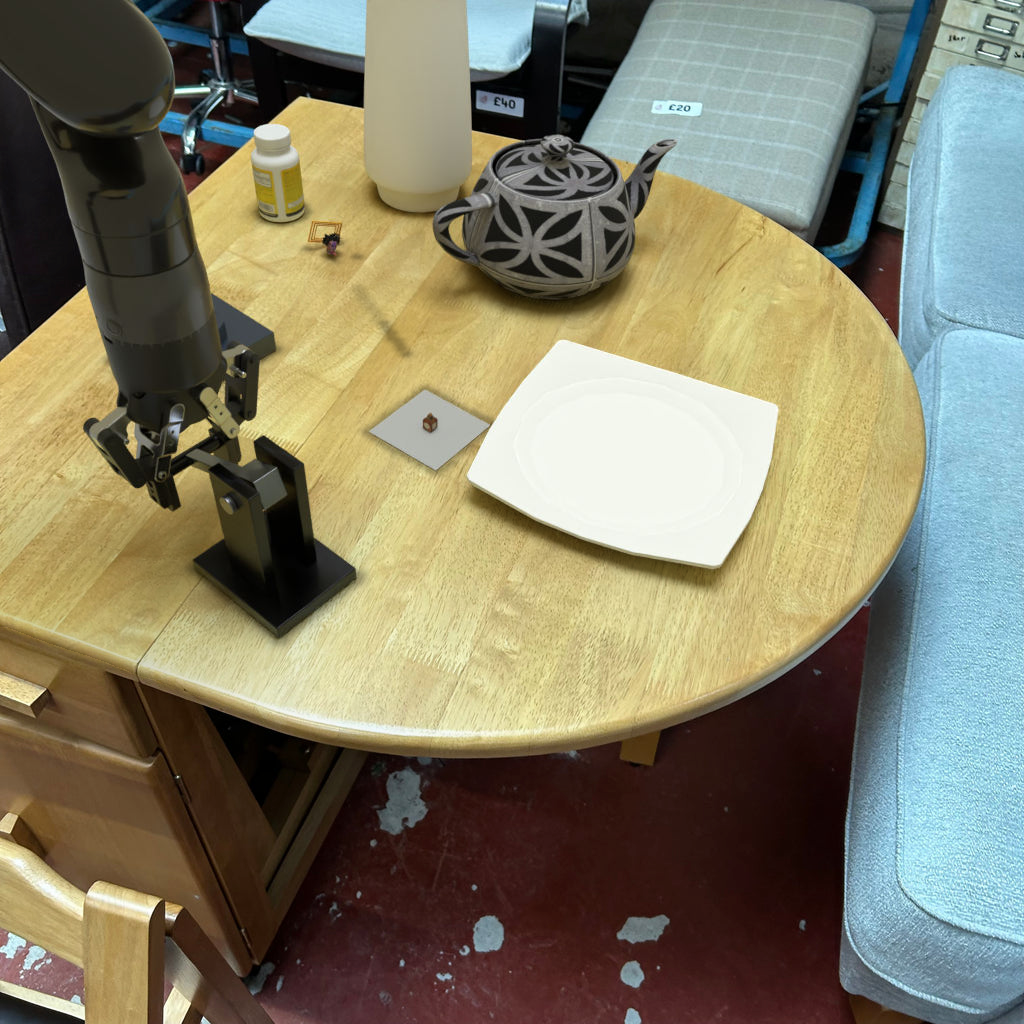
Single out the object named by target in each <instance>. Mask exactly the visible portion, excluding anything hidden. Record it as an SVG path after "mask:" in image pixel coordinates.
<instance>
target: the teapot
mask: <svg viewBox="0 0 1024 1024" xmlns="http://www.w3.org/2000/svg"><path fill="white" fill-rule="evenodd" d="M678 142H679V141H678V140H677V139H674V138H667V139H662V140H659V141H656V142H655V143H653V144H652V145H650V146H649V148H647V149H646V150H645V152H644V153H643V154H642V156H641V158H640V159H639V161H637V164H636V165H635V167H634V169H633V170H632V171H631V173H630V174H629V176H628V178H626V179H624V177H623V174H622V171H621V169H620V167H619V165H618V164H617V163H616V162H615V161H614V160H613V159H612V158H611V157H610V156H608V155H607V154H606V153H604V152H602V151H600V150H598V149H597V148H594V147H592V146H590V145H586V144H583V143H580V142H575V141H574V140H573V139H571V137H569V136H566V135H563V134H549V135H545V136H544V137H542V138H535V139H526V140H521V141H516V142H513V143H511V144H508V145H506V146H505V145H504V146H503V147H502V148H500V149H498V150H497V151H496V152H495V153H494V154H493V155H492V156H491V157H490V158H489V160H488V161H487V163H486V165H485V167H484V168H483V170H482V172H481V173H480V175H479V178H478V179H477V181H476V183H475V185H474V186H473V189H472V190H471V193H470V195H469V196H467V197H463V198H460V199H456V200H455V201H454V202H451V203H449V204H447V205H445V206H443V207H441V208H440V209H439V210H438V211H435V213H434V215H433V218H432V232H433V235H434V238H435V240H436V242H437V244H438V245H439V246H440V247H441V249H442V250H443V251H444V252H445V253H447V254H448V255H449V256H450V257H452V258H454V259H456V260H458V261H459V262H461V263H465V264H468V265H471V266H475V267H477V268H478V269H479V270H480V271H481V272H483V273H484V274H485V275H486V276H487V277H489V278H490V279H491V280H492V281H494V282H495V283H496V284H498V286H500V287H503V288H504V289H506V290H507V291H510V292H512V293H514V294H517V295H520V296H524V297H528V298H532V299H539V300H565V299H566V300H567V299H571V298H576V297H580V296H583V295H586V294H588V293H591V292H593V291H594V290H596V289H598V288H600V287H602V286H604V285H606V284H608V283H609V282H611V281H612V280H614V279H615V278H616V277H618V276H619V275H620V274H621V273H622V272H623V271H624V269H626V267H627V265H628V264H629V262H630V260H631V258H632V256H633V253H634V250H635V244H636V225H635V224H636V223H635V220H636V219H637V218H638V217H639V215H640V214H641V213H642V211H643V210H644V208H645V206H646V205H647V202H648V199H649V196H650V193H651V188H652V185H653V182H654V177H655V175H656V171H657V169H658V167H659V164H660V162H661V161H662V159H663V158H664V157H665V156H666V154H667V153H668V152H669V151H671V150H672V149H673V148H674V147H676V146H677V144H678ZM462 216H463V218H462V224H461V237H462V242H463V245H464V248H465V249H463V248H461V247H460V246H458V245H457V244H456V243H455V242H454V240H453V239H452V237H451V233H450V225H451V224H452V222H453V221H454V220H457V219H458V218H460V217H462Z"/></svg>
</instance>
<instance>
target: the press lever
mask: <svg viewBox="0 0 1024 1024" xmlns="http://www.w3.org/2000/svg"><path fill="white" fill-rule="evenodd" d="M221 447H222V442H221V440H220V439H219V437H218V436H217V435H215V434H212V435H211V436H207V437H206V438H204V439H203V440H201V441H199V442H197V443H195V444H193V445H192V446H190V447H189V448H187V449H185V450H184V451H182V452H180V453H179V454H177V455H175V456H174V457H171V464H170V472H169V473H170V474H172V475H173V477H175V476H177V475H178V474H180V473H181V472H183V471H185V470H187V469H188V468H190V467H192V468H195V469H197V470H199V471H201V472H204V473H207V474H209V472H208V469H209V468H211V467H212V466H214V465H216V464H217V463H220V464H222V465H223V466H224V467H226V468H227V469H228V470H230V471H231V472H232V473H234V474H235V475H236V476H238V477H239V478H241V479H242V480H243V481H245V482H246V483H247V484H249V485H250V486H251V487H253V488H254V489H255V490H257V491H258V492H259V493H260V497H261V502H262V508H263V511H265V510H266V509H267V508H269V507H270V506H272V505H273V504H275V503H276V502H278V501H279V500H281V499H282V498H284V497H285V496H287V495H288V493H287V491H286V488H285V486H284V483H283V480H282V478H281V475H280V473H279V470H278V468H277V467H275V466H273V465H270V464H267V463H265V462H262V461H260V460H257V459H256V458H253V459H251V461H248V462H247V463H246V464H244V465H239V464H238V465H237V464H234V463H232V462H229V461H227V460H224V459H222V458H219V457H217V456H214V454H213V452H214V451H216V450H218V449H219V448H221Z"/></svg>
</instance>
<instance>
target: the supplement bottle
mask: <svg viewBox="0 0 1024 1024" xmlns="http://www.w3.org/2000/svg"><path fill="white" fill-rule="evenodd" d="M253 139H254V145H255V148H253V150H252V151H251V154H250V162H251V163H250V164H251V169H252V170H251V171H252V176H253V184H254V190H255V195H256V203H257V209H258V213H259V215H260V216H261V217H262V218H263V219H265V220H267V221H270V222H273V223H287V222H292V221H295V220H297V219H299V218H301V217H302V216H303V214H305V208H306V207H305V196H304V187H303V178H302V170H301V161H300V155H299V153H298V151H297V149H296V148H295V147H294V146H293V145H292V137H291V130H290V129H289V128H288V126H285V125H283V124H279V123H266V124H263V125H262V124H261V125H259V126H258V127H256V128H255V129H254V130H253Z"/></svg>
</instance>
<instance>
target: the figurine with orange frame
mask: <svg viewBox="0 0 1024 1024" xmlns="http://www.w3.org/2000/svg"><path fill="white" fill-rule="evenodd" d="M318 227H331V228H332V227H333V228H334V231H333V233H329V234H327V233H324V237H316V233H317V230H318ZM342 227H343V222H341V221H340V222H338V221H324V220H322V221H321V220H311V223H310V228H309V234H308V237H307V242H308V243H319V244H322V245H324V246H325V247H326V248H325V252H326V253H327V255H333V256H337V253H336V251H337V250H336V249H337V246H338V245H340V244H341V243H340V242H341V239H343V238H342V237H341V231H342Z"/></svg>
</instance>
